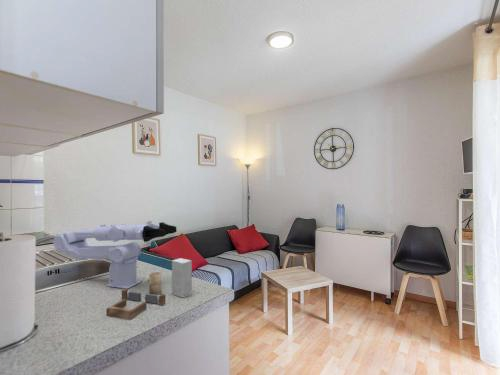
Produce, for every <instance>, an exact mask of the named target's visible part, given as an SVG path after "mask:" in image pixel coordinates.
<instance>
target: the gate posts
mask: <svg viewBox="0 0 500 375" xmlns="http://www.w3.org/2000/svg"><path fill="white" fill-rule="evenodd" d="M127 291H129V288H128V289H125V288H123V289H122V290H121V300H123V299H126V300H128V299H127ZM158 305H159V306H165V305H166V293H165V294H164V293H161V294H160V295H159V304H158Z"/></svg>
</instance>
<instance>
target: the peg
mask: <svg viewBox="0 0 500 375" xmlns="http://www.w3.org/2000/svg"><path fill="white" fill-rule="evenodd" d="M148 279H149V280H148V281H149V282H148V286H149V288H148V294H154V295H161V294H162V272H157V271H156V272H151V273H149V278H148Z"/></svg>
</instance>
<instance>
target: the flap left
mask: <svg viewBox="0 0 500 375" xmlns="http://www.w3.org/2000/svg"><path fill="white" fill-rule="evenodd" d="M126 300H130V301H139V302H140V301H142V292H140V291H139V292H138V291H130V290H128V291H127V299H126Z"/></svg>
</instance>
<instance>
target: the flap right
mask: <svg viewBox="0 0 500 375" xmlns="http://www.w3.org/2000/svg"><path fill="white" fill-rule="evenodd" d="M144 299H145V300H144V302H146V303H151V304H157V305H159V295H154V294H149V293H146V294H145V298H144Z"/></svg>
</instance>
